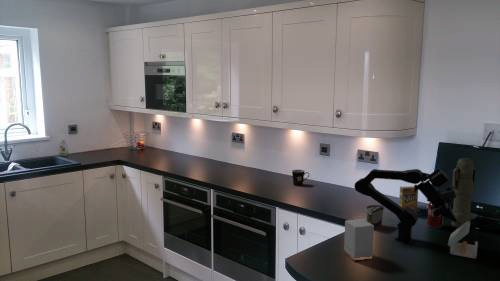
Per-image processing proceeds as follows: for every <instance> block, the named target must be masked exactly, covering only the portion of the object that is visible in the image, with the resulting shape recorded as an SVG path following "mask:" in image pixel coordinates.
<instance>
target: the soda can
mask: <svg viewBox="0 0 500 281" xmlns="http://www.w3.org/2000/svg"><path fill="white" fill-rule="evenodd" d="M427 207H428V208H427V221H426V225H427V227H430V228H433V229H441V228H442V227H443V223H444V216H441V215H439V216H438V217H435V216H434V214H433V211H434V208H433V207H434V206H433V205H432V204H431V202H430V201H429V202H428V206H427Z"/></svg>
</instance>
